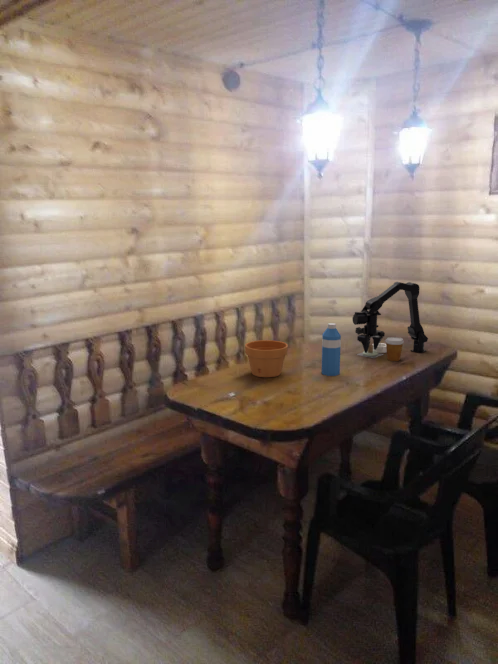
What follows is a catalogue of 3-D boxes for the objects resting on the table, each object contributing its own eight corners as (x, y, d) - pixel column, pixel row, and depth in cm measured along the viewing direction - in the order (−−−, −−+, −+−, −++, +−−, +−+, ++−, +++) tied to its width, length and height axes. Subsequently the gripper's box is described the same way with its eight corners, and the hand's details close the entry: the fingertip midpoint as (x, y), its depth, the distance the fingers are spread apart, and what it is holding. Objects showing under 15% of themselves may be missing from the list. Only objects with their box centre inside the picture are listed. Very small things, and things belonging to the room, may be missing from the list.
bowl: (377, 348, 322) (377, 342, 321) (391, 351, 316) (392, 344, 315) (368, 351, 316) (369, 345, 315) (382, 354, 310) (383, 347, 309)
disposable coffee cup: (401, 358, 302) (402, 337, 299) (404, 363, 293) (405, 341, 290) (383, 358, 303) (384, 336, 300) (385, 363, 294) (386, 341, 291)
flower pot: (253, 365, 291) (253, 338, 288) (292, 369, 284) (292, 341, 281) (239, 377, 272) (238, 348, 268) (280, 381, 265) (280, 351, 261)
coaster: (367, 352, 315) (367, 350, 315) (384, 355, 308) (384, 354, 308) (356, 355, 308) (356, 354, 308) (373, 359, 300) (373, 358, 300)
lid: (368, 351, 313) (368, 342, 312) (380, 354, 308) (380, 345, 307) (360, 354, 308) (360, 345, 307) (372, 357, 302) (372, 347, 301)
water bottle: (342, 371, 279) (343, 322, 274) (337, 376, 271) (338, 326, 266) (324, 369, 283) (325, 321, 278) (318, 374, 275) (319, 325, 269)
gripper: (368, 318, 316) (367, 345, 319) (349, 323, 303) (348, 351, 306) (385, 321, 308) (384, 348, 312) (366, 326, 295) (365, 355, 299)
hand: (370, 351), depth 307 cm, fingers open, 9 cm apart
